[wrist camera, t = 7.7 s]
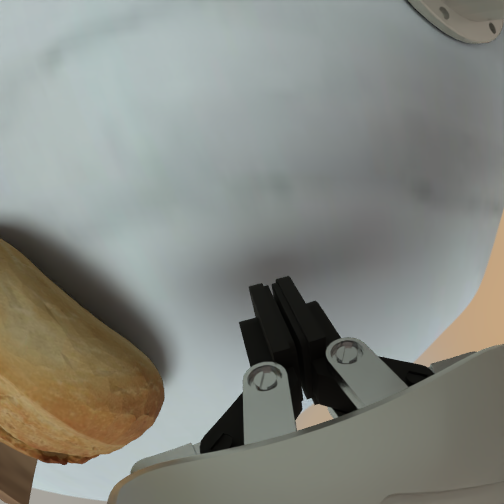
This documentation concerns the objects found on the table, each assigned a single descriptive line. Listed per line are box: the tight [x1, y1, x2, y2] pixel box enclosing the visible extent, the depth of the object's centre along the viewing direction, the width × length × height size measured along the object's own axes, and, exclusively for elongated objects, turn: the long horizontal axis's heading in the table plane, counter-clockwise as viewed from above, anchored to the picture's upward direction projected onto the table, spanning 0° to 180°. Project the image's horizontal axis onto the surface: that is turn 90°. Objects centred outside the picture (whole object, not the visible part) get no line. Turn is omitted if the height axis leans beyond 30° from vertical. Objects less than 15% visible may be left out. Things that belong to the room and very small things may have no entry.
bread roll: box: [0, 238, 164, 465], centre depth 11 cm, size 10×15×8 cm, turn 46°
